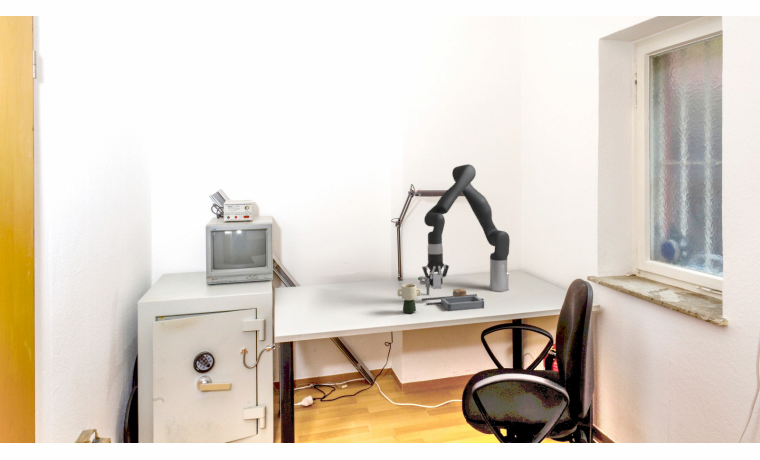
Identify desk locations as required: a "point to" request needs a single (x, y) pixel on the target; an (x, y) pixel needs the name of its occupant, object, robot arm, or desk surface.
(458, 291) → the slider
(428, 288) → the mechanical component
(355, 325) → the desk surface
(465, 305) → the tray
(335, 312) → the desk surface
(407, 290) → the character mug
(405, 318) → the desk surface
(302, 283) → the desk surface
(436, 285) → the stop block
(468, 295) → the slide rails
